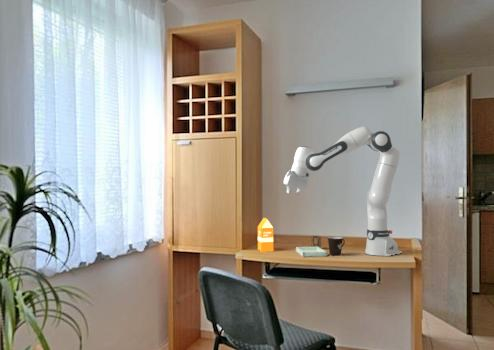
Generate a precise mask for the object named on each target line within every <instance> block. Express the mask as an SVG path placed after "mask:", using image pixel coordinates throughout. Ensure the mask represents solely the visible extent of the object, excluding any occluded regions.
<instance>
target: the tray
mask: <svg viewBox="0 0 494 350" xmlns="http://www.w3.org/2000/svg"><path fill="white" fill-rule="evenodd" d="M295 252H296V253H298V254H299V255H300V256H301V257H302V258H314V257H317V258H318V257H320V258H321V257H328V251H326V250H325V249H323V248H320V247H311V246H296V247H295Z"/></svg>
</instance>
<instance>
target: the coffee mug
mask: <svg viewBox="0 0 494 350" xmlns="http://www.w3.org/2000/svg"><path fill="white" fill-rule="evenodd" d="M345 243H346V242H345V239H344V238H343V237H342V236H329V237H327V244H328V251H329V256H333V257H341V256H342V248H343V247H344V245H345Z"/></svg>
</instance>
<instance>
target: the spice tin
mask: <svg viewBox="0 0 494 350" xmlns="http://www.w3.org/2000/svg"><path fill="white" fill-rule="evenodd" d="M321 237H322V236H320V235H310V247H314V244H315V239H317V242H316V244H317V245H318V247H320V248H321V246H322V240H321V239H322V238H321ZM321 249H322V248H321Z"/></svg>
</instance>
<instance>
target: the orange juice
mask: <svg viewBox="0 0 494 350" xmlns="http://www.w3.org/2000/svg"><path fill="white" fill-rule="evenodd" d="M259 250H260V251H259ZM257 251H259V252H260V253H267V252H266V251H273V252H274V227H273V225H272V224H271V222H270V221H269V219H268V218H266V217H263V218H262V220H261V221H260V222H259V224H258V225H257Z"/></svg>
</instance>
